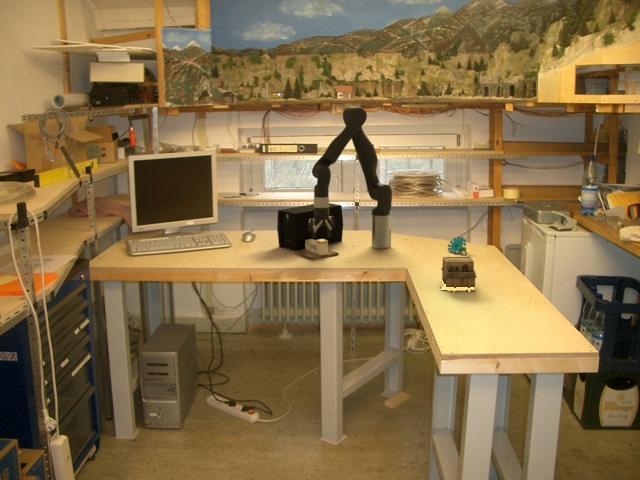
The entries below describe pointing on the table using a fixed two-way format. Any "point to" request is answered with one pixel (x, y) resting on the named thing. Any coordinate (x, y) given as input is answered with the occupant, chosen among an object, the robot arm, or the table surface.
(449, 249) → the teal spiky round piece
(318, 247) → the orange-striped cream block
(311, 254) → the ticket board
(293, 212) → the uninterruptible power supply
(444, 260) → the miniature house
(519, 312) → the table surface
